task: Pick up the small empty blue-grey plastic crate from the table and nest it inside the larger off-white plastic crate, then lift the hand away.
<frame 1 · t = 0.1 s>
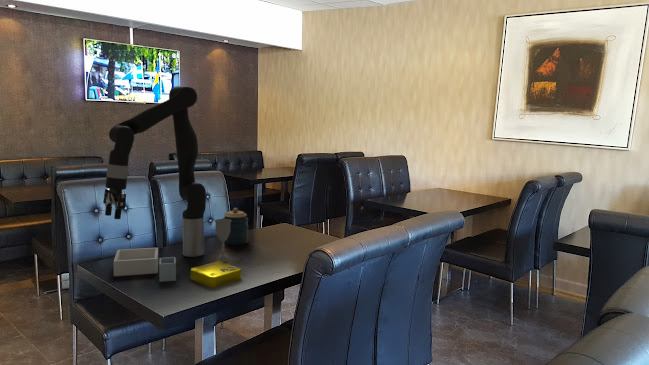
hand: (112, 217, 184), 22 cm above the table, tool pointing down, fingers open, 8 cm apart
chalice: (223, 260, 206), on the table
element tile: (216, 279, 184), on the table
small crate: (167, 277, 183), on the table
large crate: (137, 268, 192), on the table
canister: (235, 242, 235), on the table
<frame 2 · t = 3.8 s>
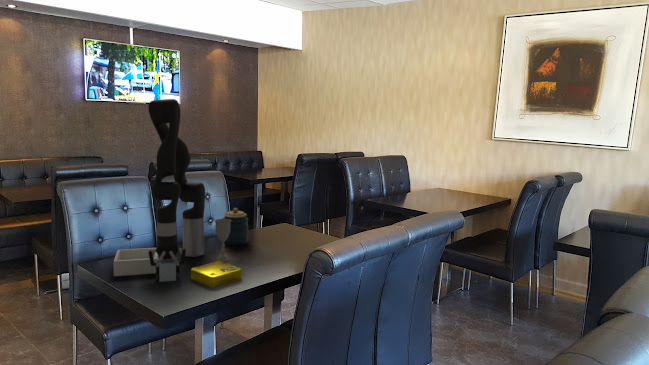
hand: (167, 274, 183), 1 cm above the table, tool pointing down, fingers closed on small crate, 6 cm apart
small crate: (167, 277, 183), on the table, touching gripper
everything else where it was.
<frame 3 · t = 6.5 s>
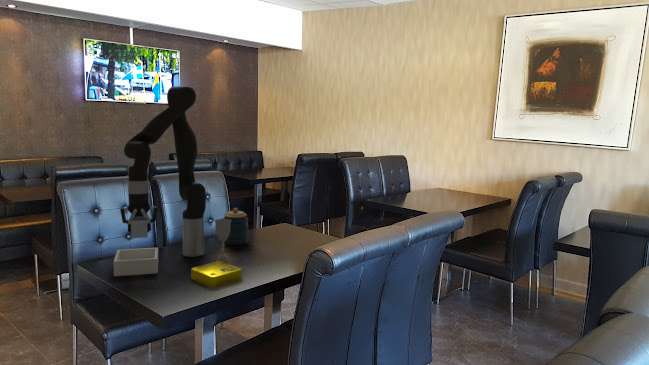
hand: (139, 232, 189), 16 cm above the table, tool pointing down, fingers closed on small crate, 6 cm apart
small crate: (139, 235, 189), point 14 cm above the table, touching gripper
everything else where it was.
when the fingers open (4 cm above the table, at t = 9.3 s): small crate drops 1 cm, resting on large crate.
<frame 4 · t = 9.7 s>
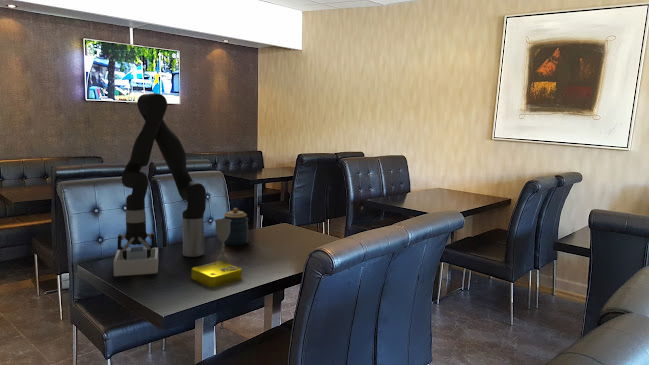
hand: (137, 258, 192), 4 cm above the table, tool pointing down, fingers open, 8 cm apart
small crate: (137, 265, 192), point 1 cm above the table, touching large crate
everything else where it was.
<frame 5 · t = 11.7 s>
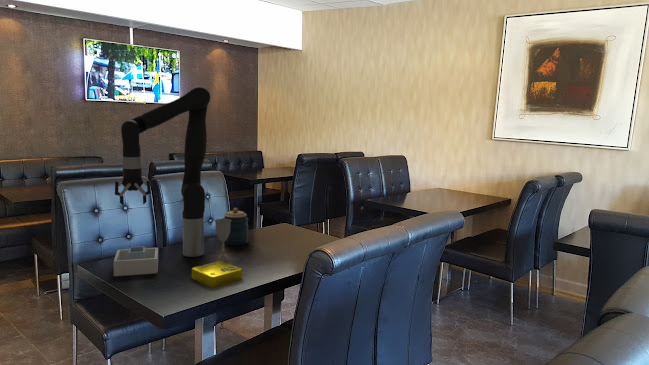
hand: (133, 204, 203), 24 cm above the table, tool pointing down, fingers open, 8 cm apart
nothing on the table moved.
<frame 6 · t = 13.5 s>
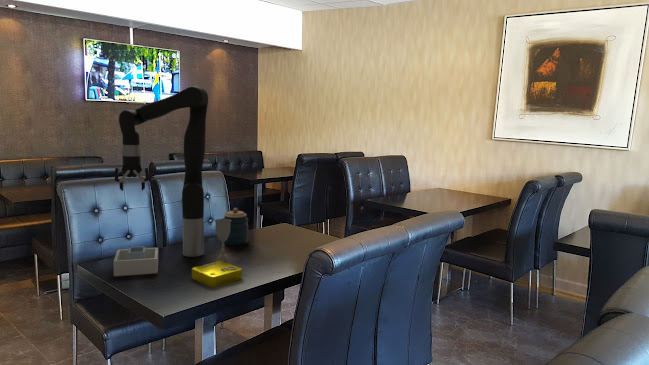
hand: (132, 190, 213), 28 cm above the table, tool pointing down, fingers open, 8 cm apart
nothing on the table moved.
at the end: small crate inside the target area on the large crate (0.1 cm from its centre), point 1.0 cm above the large crate's base; small crate tilted 0°; the gripper is holding nothing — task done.
